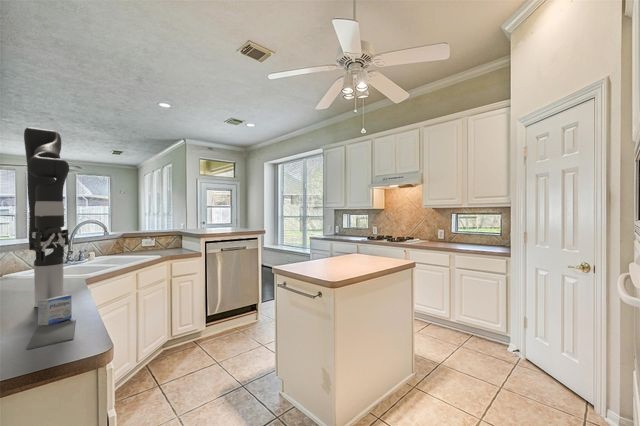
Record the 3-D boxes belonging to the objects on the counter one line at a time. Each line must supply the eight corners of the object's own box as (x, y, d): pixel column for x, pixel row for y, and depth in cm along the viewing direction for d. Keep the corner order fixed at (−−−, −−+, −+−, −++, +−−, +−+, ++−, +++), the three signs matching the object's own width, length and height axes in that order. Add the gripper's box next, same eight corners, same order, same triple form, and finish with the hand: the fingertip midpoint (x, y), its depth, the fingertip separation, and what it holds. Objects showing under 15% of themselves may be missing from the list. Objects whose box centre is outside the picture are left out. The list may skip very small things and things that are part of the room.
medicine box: (47, 326, 97) (47, 300, 97) (37, 325, 98) (37, 300, 98) (72, 318, 104) (72, 294, 105) (62, 318, 105) (62, 294, 106)
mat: (36, 328, 96) (36, 327, 96) (75, 321, 102) (75, 320, 102) (26, 349, 80) (26, 348, 80) (73, 339, 87) (73, 338, 87)
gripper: (53, 213, 106) (54, 256, 107) (19, 214, 92) (20, 264, 93) (75, 213, 107) (76, 256, 108) (45, 214, 93) (46, 263, 94)
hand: (50, 259), depth 100 cm, fingers open, 8 cm apart
